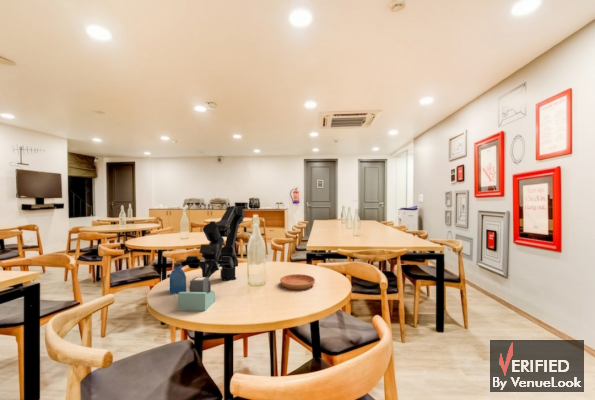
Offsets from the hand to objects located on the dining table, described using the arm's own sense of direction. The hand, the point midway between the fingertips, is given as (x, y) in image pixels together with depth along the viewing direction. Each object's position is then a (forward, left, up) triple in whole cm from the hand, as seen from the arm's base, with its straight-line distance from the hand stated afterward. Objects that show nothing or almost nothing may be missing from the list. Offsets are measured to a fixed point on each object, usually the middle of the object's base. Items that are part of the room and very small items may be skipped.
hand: (203, 281), depth 101 cm
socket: (+2, +4, -7) cm, 9 cm away
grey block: (+2, +3, -7) cm, 8 cm away
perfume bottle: (+9, -16, -8) cm, 20 cm away
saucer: (-41, -1, -8) cm, 42 cm away
